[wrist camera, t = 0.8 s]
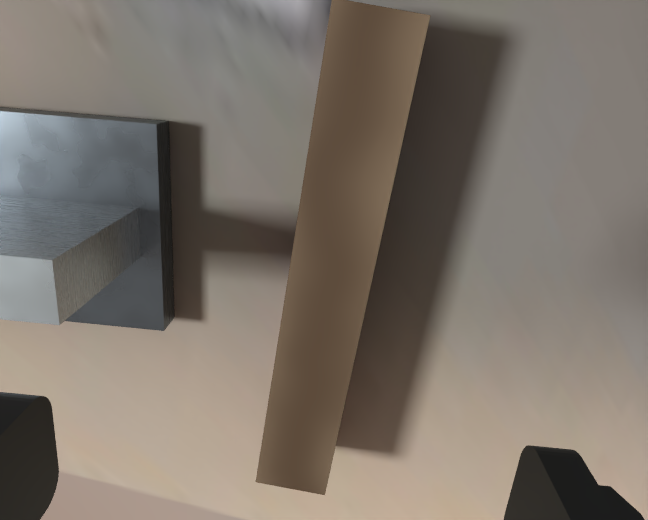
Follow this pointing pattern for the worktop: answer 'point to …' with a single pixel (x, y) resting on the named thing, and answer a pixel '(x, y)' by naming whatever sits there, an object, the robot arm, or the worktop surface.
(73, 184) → the stand
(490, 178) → the worktop surface
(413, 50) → the walnut beam
